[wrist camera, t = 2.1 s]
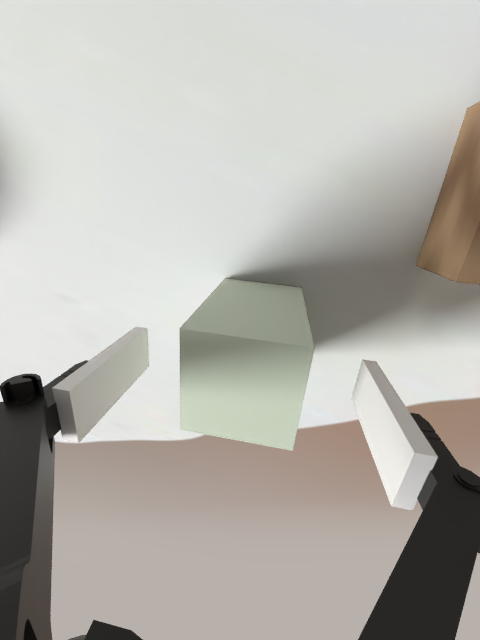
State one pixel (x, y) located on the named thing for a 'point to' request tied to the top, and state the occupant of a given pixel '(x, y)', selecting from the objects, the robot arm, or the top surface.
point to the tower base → (458, 211)
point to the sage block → (246, 363)
